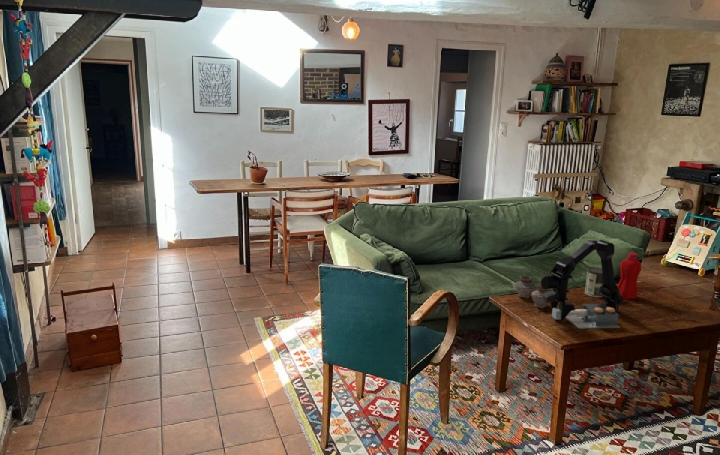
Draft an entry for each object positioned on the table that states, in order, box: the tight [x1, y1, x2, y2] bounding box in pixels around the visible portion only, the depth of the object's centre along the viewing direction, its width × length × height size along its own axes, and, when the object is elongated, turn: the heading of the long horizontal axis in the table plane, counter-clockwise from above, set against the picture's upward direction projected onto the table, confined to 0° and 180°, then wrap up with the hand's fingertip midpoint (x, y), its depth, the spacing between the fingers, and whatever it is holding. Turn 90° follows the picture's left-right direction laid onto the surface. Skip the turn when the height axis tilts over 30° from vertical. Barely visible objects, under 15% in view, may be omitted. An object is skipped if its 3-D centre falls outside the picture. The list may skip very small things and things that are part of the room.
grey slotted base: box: [565, 303, 621, 330], centre depth 260 cm, size 21×16×7 cm
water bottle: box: [617, 252, 642, 300], centre depth 290 cm, size 9×11×25 cm
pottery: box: [514, 275, 548, 309], centre depth 284 cm, size 11×25×12 cm, turn 17°
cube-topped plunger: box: [551, 307, 589, 320], centre depth 261 cm, size 20×4×4 cm, turn 97°
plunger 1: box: [594, 308, 603, 314], centre depth 256 cm, size 4×4×4 cm
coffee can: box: [584, 266, 604, 298], centre depth 295 cm, size 10×10×14 cm
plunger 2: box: [606, 307, 615, 313], centre depth 256 cm, size 4×4×4 cm
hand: (557, 316), depth 261 cm, fingers open, 9 cm apart
